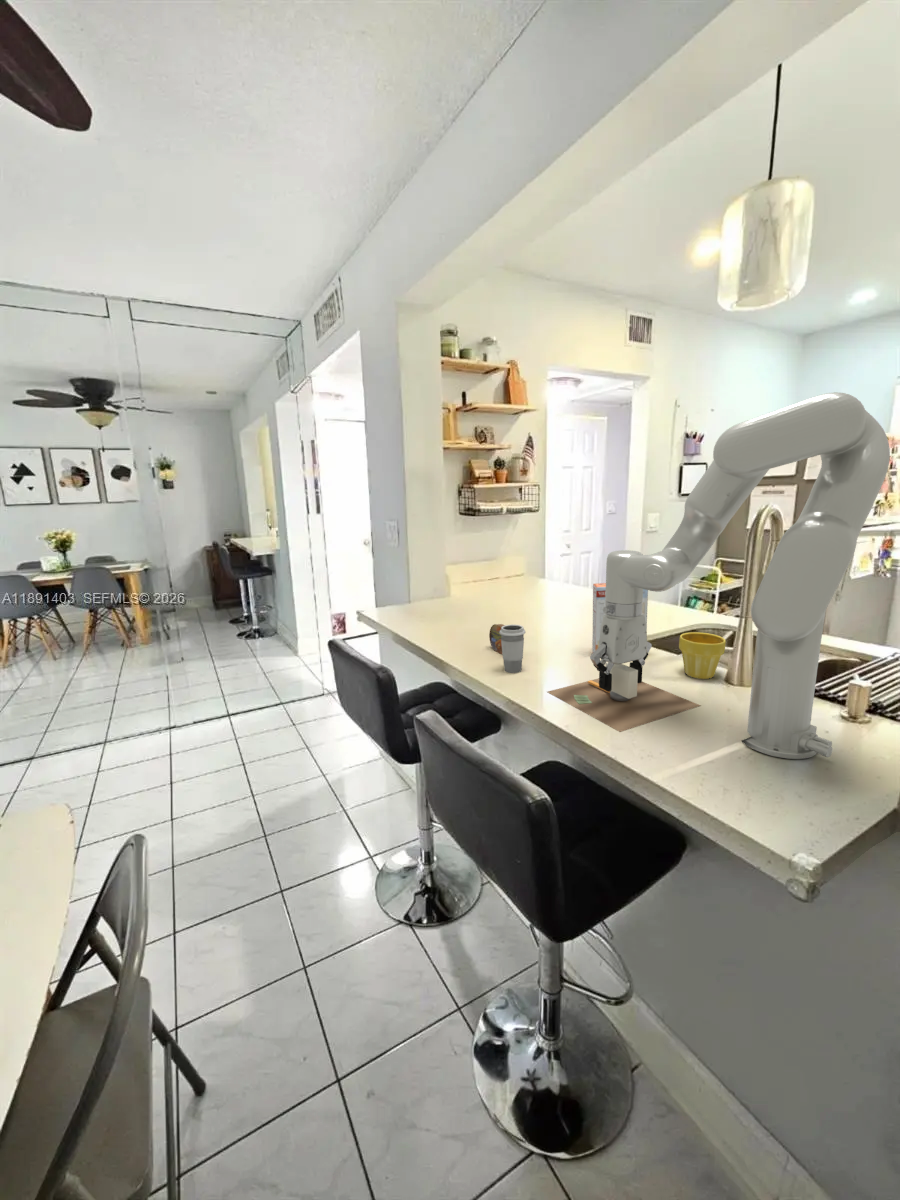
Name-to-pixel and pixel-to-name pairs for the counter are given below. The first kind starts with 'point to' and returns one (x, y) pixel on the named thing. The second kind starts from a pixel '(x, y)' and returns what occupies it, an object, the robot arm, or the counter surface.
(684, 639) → the plant pot
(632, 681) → the knob
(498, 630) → the tin
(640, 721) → the dial board
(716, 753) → the counter surface
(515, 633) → the cup
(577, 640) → the counter surface
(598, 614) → the cracker box
